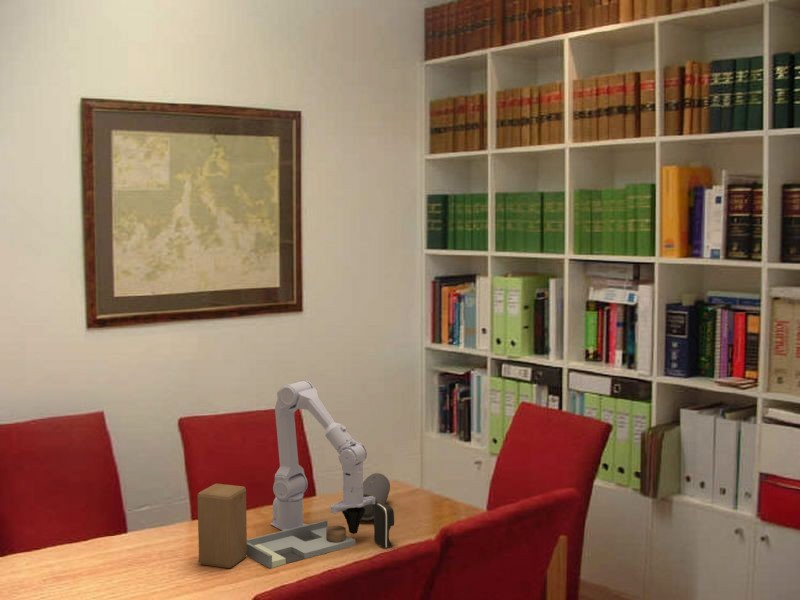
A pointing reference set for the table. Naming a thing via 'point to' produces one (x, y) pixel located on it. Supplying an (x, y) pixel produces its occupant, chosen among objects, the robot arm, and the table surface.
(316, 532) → the trap board
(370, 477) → the bluetooth speaker
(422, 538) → the table surface
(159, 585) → the table surface
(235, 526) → the wooden block
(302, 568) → the table surface
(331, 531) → the puck
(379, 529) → the battery charger
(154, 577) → the table surface
